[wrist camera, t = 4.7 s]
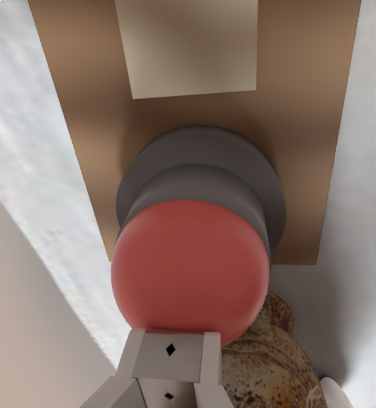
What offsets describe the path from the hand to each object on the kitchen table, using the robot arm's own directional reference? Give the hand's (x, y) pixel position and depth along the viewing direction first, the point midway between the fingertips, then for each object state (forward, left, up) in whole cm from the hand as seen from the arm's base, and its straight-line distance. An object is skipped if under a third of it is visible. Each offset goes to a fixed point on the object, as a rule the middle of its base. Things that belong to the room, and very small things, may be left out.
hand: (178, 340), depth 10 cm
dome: (0, 0, -7) cm, 7 cm away
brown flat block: (-5, 0, -10) cm, 11 cm away
